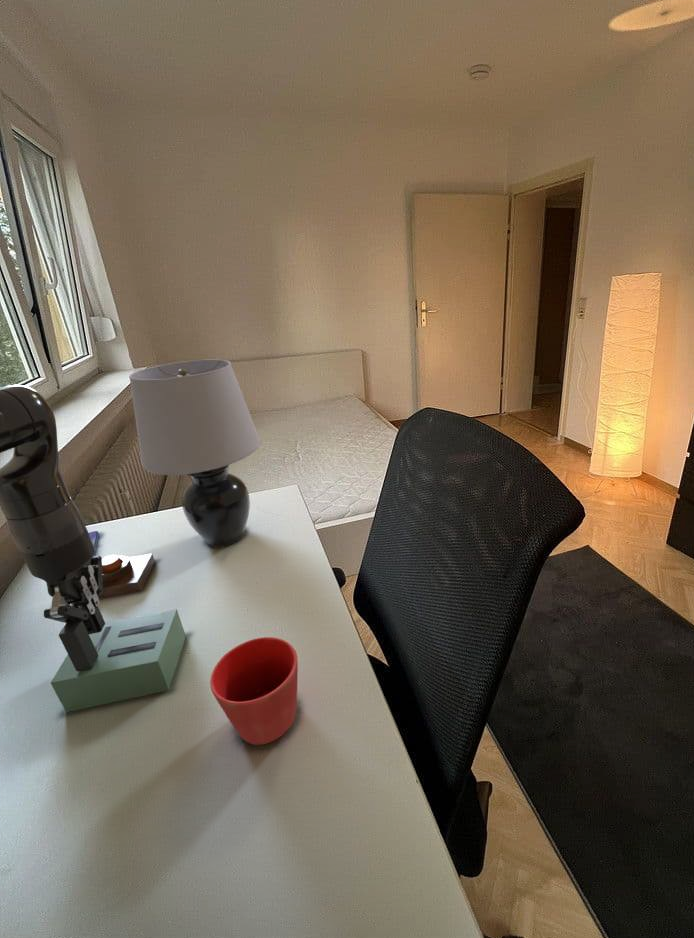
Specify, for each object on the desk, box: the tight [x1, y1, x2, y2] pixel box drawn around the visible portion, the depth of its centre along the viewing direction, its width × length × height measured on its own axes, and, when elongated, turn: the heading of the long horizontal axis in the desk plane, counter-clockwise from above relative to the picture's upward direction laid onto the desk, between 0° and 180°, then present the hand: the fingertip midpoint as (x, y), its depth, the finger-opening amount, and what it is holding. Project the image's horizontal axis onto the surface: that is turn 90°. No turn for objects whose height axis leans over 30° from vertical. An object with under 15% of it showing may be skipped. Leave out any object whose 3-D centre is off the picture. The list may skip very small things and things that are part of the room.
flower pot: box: [209, 636, 299, 746], centre depth 59 cm, size 11×11×10 cm
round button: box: [101, 554, 122, 572], centre depth 90 cm, size 4×4×2 cm
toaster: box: [50, 609, 187, 713], centre depth 69 cm, size 14×11×6 cm
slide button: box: [58, 620, 99, 672], centre depth 63 cm, size 2×2×7 cm
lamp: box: [128, 358, 261, 547], centre depth 97 cm, size 24×24×40 cm
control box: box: [98, 553, 156, 599], centre depth 91 cm, size 12×10×4 cm
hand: (96, 629), depth 67 cm, fingers closed
